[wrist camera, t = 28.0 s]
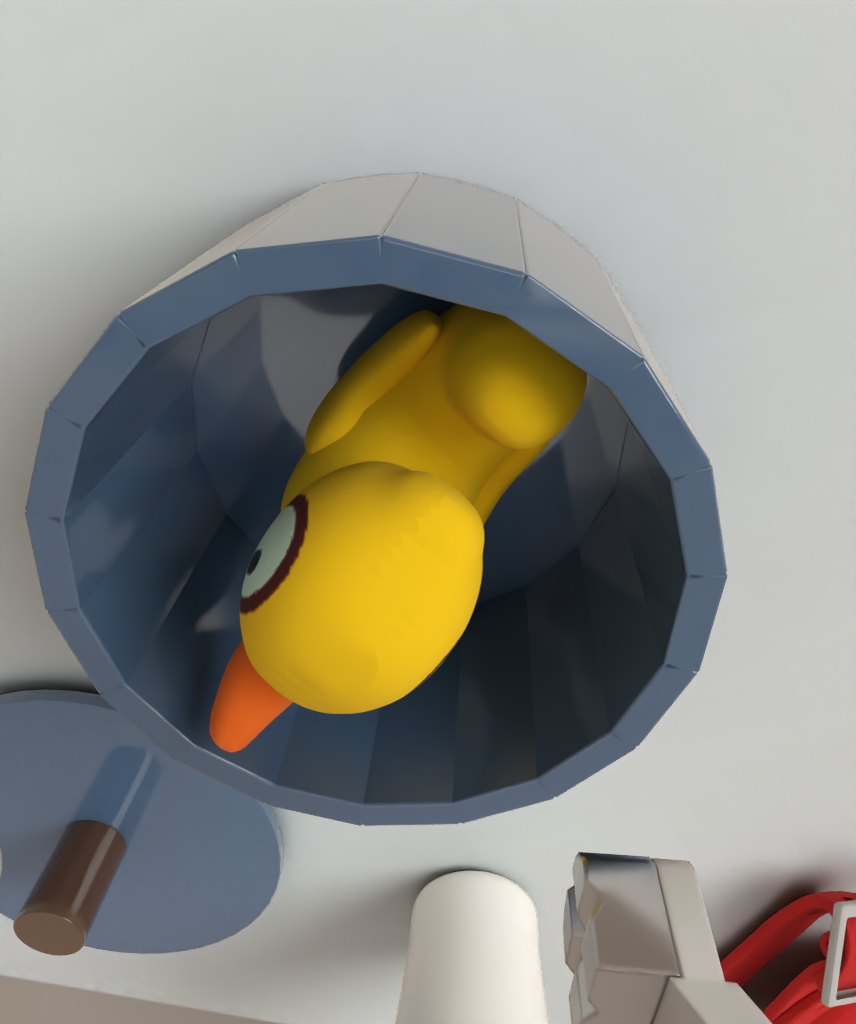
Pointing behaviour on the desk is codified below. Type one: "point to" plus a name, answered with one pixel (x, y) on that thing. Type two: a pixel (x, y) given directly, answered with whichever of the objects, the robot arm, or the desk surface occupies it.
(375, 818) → the pot
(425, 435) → the duckling
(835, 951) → the tracker holder
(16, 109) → the desk surface
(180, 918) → the lid
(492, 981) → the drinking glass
